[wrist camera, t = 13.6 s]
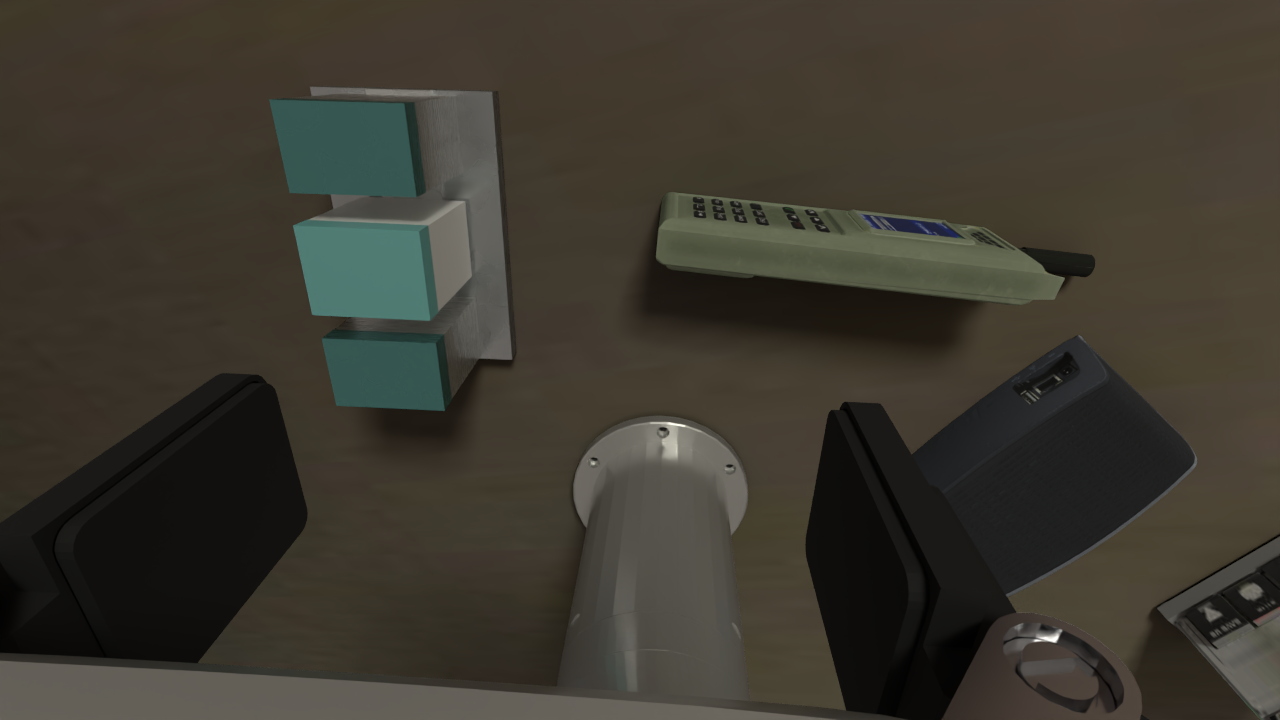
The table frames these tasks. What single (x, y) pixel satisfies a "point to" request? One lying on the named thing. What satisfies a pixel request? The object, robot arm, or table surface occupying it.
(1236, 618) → the grey printed box
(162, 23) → the table surface
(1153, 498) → the external hard drive
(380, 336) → the rail plate
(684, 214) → the handheld radio
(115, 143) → the table surface
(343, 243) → the block
